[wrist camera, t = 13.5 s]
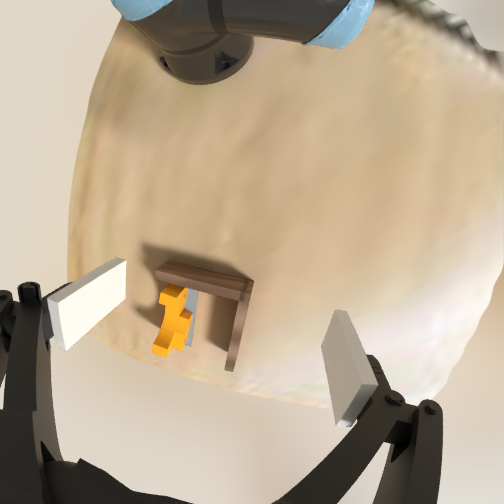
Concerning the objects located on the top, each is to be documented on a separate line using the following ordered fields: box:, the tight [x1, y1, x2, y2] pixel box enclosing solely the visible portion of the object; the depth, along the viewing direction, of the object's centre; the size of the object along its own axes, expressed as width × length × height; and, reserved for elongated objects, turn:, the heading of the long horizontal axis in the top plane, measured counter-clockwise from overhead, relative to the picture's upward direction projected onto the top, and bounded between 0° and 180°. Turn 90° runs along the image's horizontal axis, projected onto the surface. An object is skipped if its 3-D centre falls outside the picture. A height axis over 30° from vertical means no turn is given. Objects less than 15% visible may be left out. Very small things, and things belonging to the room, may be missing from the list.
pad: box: [184, 288, 198, 346], centre depth 47 cm, size 13×5×1 cm, turn 168°
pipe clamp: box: [152, 283, 193, 358], centre depth 43 cm, size 12×4×6 cm, turn 163°
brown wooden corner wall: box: [155, 261, 254, 372], centre depth 44 cm, size 15×15×5 cm
